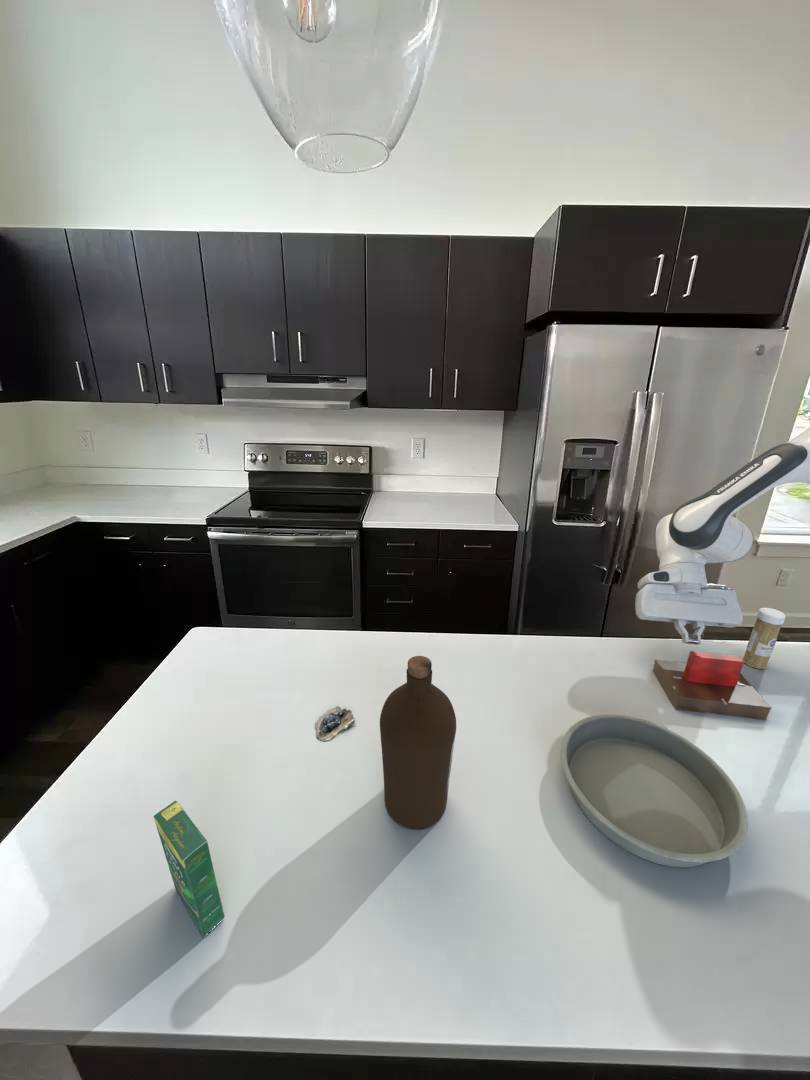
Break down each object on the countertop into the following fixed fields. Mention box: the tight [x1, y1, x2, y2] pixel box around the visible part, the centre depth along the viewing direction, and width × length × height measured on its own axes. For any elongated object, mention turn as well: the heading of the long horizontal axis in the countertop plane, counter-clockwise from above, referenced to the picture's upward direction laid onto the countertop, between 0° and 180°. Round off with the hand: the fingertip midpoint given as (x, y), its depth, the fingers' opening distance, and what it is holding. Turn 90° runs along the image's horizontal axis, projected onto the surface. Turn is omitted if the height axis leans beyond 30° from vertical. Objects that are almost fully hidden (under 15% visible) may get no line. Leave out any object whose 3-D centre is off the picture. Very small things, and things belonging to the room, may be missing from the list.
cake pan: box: [560, 713, 749, 868], centre depth 65 cm, size 25×25×4 cm
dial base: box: [651, 659, 772, 721], centre depth 87 cm, size 16×13×3 cm
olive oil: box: [379, 655, 457, 830], centre depth 60 cm, size 11×11×25 cm
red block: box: [683, 650, 745, 687], centre depth 85 cm, size 9×2×6 cm, turn 80°
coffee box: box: [153, 800, 226, 938], centre depth 49 cm, size 8×3×13 cm, turn 49°
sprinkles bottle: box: [742, 607, 787, 670], centre depth 95 cm, size 5×5×13 cm
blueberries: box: [314, 705, 356, 742], centre depth 78 cm, size 7×8×2 cm
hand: (691, 643), depth 90 cm, fingers closed
